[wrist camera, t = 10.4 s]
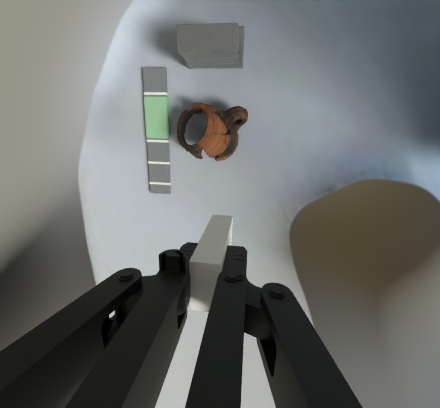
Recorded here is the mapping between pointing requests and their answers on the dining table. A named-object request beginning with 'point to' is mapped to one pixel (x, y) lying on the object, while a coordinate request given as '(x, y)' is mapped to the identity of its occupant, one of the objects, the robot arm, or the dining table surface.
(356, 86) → the dining table surface
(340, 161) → the dining table surface
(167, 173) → the gauge strip
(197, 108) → the pottery mug
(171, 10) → the dining table surface
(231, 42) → the striated grey slab
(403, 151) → the dining table surface
